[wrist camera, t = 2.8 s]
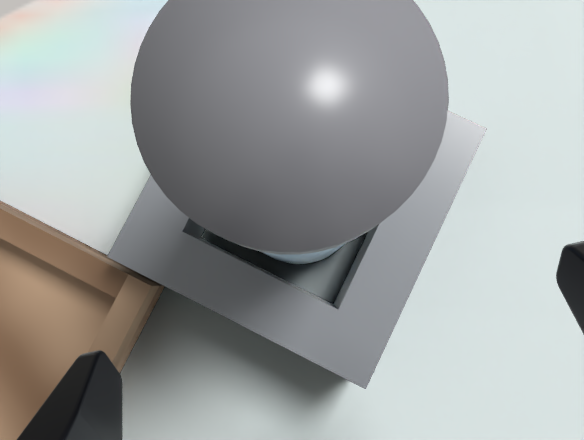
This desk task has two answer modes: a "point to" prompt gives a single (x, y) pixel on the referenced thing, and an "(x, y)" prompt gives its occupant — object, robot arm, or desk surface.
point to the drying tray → (59, 312)
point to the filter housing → (289, 298)
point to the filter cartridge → (289, 116)
